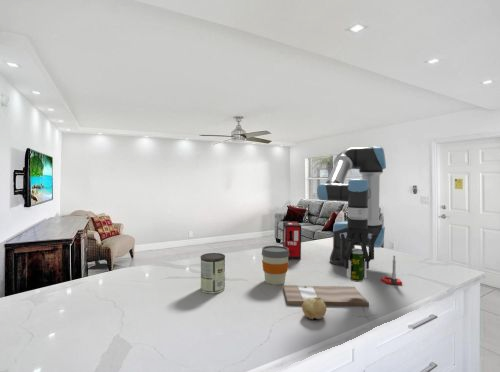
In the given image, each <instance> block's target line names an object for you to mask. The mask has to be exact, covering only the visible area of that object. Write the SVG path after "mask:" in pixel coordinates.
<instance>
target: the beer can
mask: <svg viewBox="0 0 500 372" xmlns="http://www.w3.org/2000/svg"><path fill="white" fill-rule="evenodd" d="M363 251H364V250H362V248H356V247H355V248H353V249H352V252H351V255H350V261H351V278H349V280H350V281H351V282H354V283H363V282H364V279H365V278H364V260H365V259H364V252H363Z"/></svg>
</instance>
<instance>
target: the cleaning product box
mask: <svg viewBox="0 0 500 372" xmlns="http://www.w3.org/2000/svg"><path fill="white" fill-rule="evenodd" d="M282 223H283V224H282V246H283V247H287V248H288V249H289V256H288V260H297V261H298V260H302V225H301V224H300V223H299V222H298V221H285V220H284V221H282Z"/></svg>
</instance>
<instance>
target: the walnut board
mask: <svg viewBox="0 0 500 372" xmlns="http://www.w3.org/2000/svg"><path fill="white" fill-rule="evenodd" d="M282 285H283V292H284V296H285V300H286V305H287V306H302V304H303V302H304V301H305V300H306V299H307V298H310V297H317V294H318V297H321V300H322V301H323V302H324V303H325V305H326V307H327V306H329V307H330V306H331V307H370V302H369V301H368V300H367V299H366V298H365V297H364V296H363V294H362V293H361V291H359V290H358V289H357V288H356V286H345V285H344V286H342V285H341V286H340V285H335V286H334V285H305V284H304V285H303V284H302V285H300V284H297V285H295V284H294V285H293V284H292V285H291V284H288V285H286V284H285V285H284V284H282Z"/></svg>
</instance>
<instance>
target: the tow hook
mask: <svg viewBox="0 0 500 372" xmlns="http://www.w3.org/2000/svg"><path fill="white" fill-rule="evenodd" d="M396 263H397V261H396V255H393V256H392V273H391V276H382V277H380V280H381V281H382V282H384V283H385V284H386V285H394V286H396V285H399V286H402V285H403V282H402V280H401V279H400V278H398V277H397V272H396V266H397V264H396Z"/></svg>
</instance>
